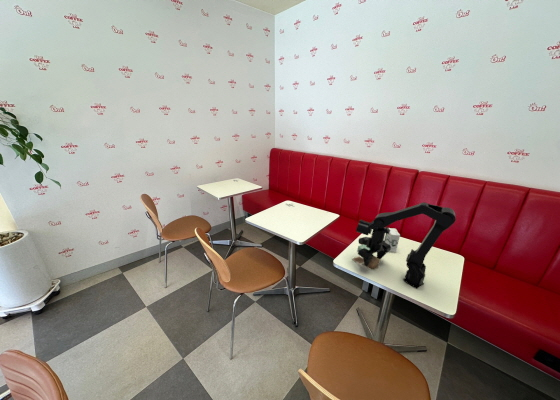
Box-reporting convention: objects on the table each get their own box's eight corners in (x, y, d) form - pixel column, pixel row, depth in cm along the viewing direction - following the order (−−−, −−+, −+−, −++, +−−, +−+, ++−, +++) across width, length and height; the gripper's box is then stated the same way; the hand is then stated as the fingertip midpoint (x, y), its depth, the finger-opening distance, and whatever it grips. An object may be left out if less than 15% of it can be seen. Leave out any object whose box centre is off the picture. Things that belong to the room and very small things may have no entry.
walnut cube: (378, 267, 113) (380, 259, 111) (371, 270, 111) (373, 262, 109) (370, 262, 117) (371, 254, 115) (364, 264, 115) (365, 256, 113)
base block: (372, 254, 124) (373, 248, 122) (365, 257, 121) (366, 251, 120) (364, 249, 129) (365, 243, 127) (357, 252, 126) (358, 246, 124)
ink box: (382, 244, 134) (386, 227, 130) (390, 244, 134) (395, 228, 130) (387, 252, 126) (391, 234, 122) (396, 252, 126) (400, 235, 122)
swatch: (367, 262, 117) (367, 261, 117) (360, 265, 114) (360, 264, 114) (358, 256, 122) (359, 255, 121) (351, 259, 119) (351, 258, 119)
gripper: (375, 227, 119) (370, 250, 124) (352, 234, 110) (347, 260, 115) (394, 236, 110) (388, 261, 115) (370, 245, 101) (364, 272, 106)
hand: (371, 263), depth 113 cm, fingers open, 9 cm apart
